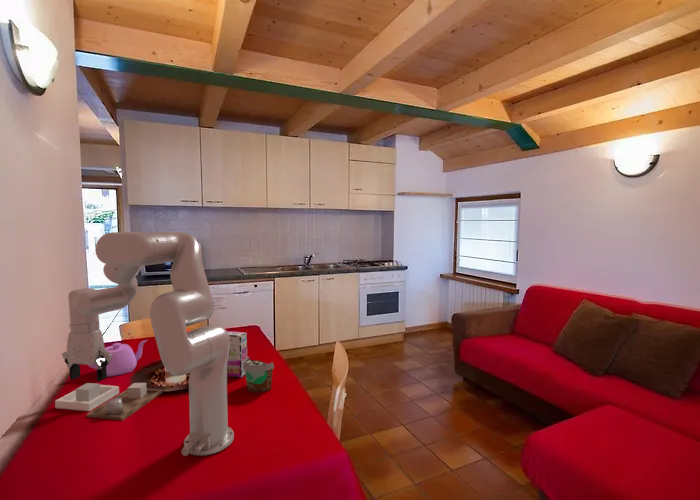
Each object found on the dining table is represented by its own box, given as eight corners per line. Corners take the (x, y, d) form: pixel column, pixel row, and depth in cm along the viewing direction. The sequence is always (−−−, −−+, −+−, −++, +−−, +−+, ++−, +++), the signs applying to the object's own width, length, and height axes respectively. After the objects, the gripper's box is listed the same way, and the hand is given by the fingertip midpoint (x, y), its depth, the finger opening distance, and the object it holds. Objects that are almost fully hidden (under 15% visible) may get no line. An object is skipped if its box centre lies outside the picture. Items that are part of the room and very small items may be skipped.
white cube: (140, 398, 121) (140, 387, 121) (127, 398, 121) (127, 388, 121) (146, 393, 125) (146, 382, 125) (134, 393, 125) (133, 382, 125)
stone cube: (89, 403, 117) (88, 389, 117) (76, 402, 118) (75, 389, 118) (100, 396, 122) (99, 383, 122) (87, 396, 122) (87, 382, 122)
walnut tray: (123, 422, 108) (123, 417, 108) (87, 418, 110) (86, 414, 110) (162, 393, 126) (162, 389, 126) (131, 391, 128) (130, 387, 128)
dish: (89, 413, 113) (89, 403, 113) (55, 409, 115) (55, 400, 115) (119, 394, 125) (118, 386, 125) (87, 392, 127) (87, 383, 126)
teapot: (151, 370, 146) (150, 342, 145) (89, 383, 134) (88, 353, 133) (145, 360, 156) (144, 334, 155) (87, 371, 144) (86, 344, 143)
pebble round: (108, 417, 109) (107, 406, 109) (105, 412, 112) (104, 401, 112) (124, 412, 112) (123, 400, 112) (121, 407, 115) (119, 396, 115)
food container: (235, 389, 130) (235, 361, 129) (248, 382, 135) (247, 356, 134) (262, 397, 124) (262, 368, 123) (274, 390, 130) (274, 362, 129)
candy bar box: (248, 373, 144) (247, 332, 142) (241, 378, 139) (240, 336, 137) (222, 370, 146) (222, 329, 145) (215, 375, 141) (214, 333, 140)
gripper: (50, 329, 115) (54, 382, 117) (99, 331, 113) (103, 385, 114) (71, 323, 123) (75, 373, 124) (118, 324, 120) (121, 375, 122)
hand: (88, 379), depth 119 cm, fingers open, 9 cm apart
